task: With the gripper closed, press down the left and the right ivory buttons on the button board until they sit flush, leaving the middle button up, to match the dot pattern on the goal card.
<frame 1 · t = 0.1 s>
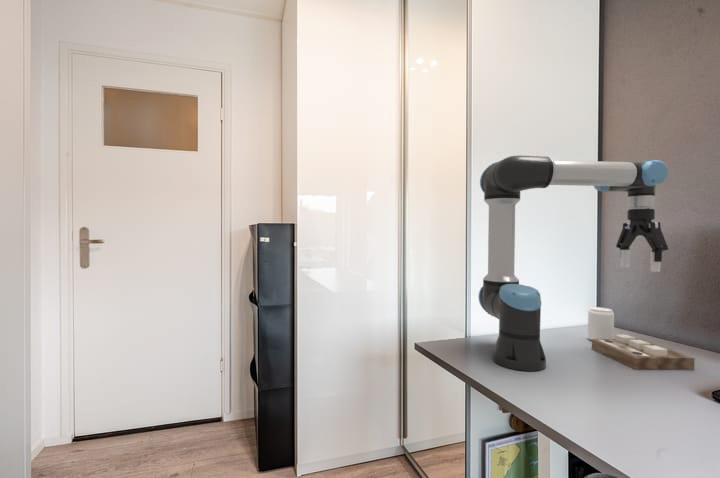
hand: (639, 269, 126), 28 cm above the table, fingers open, 13 cm apart
button right: (655, 353, 110), point 4 cm above the table, slide at 0.0 cm
white cylindrical container: (600, 341, 135), on the table
button left: (624, 341, 122), point 4 cm above the table, slide at 0.0 cm
button mid: (639, 346, 116), point 4 cm above the table, slide at 0.0 cm
board: (638, 358, 116), on the table
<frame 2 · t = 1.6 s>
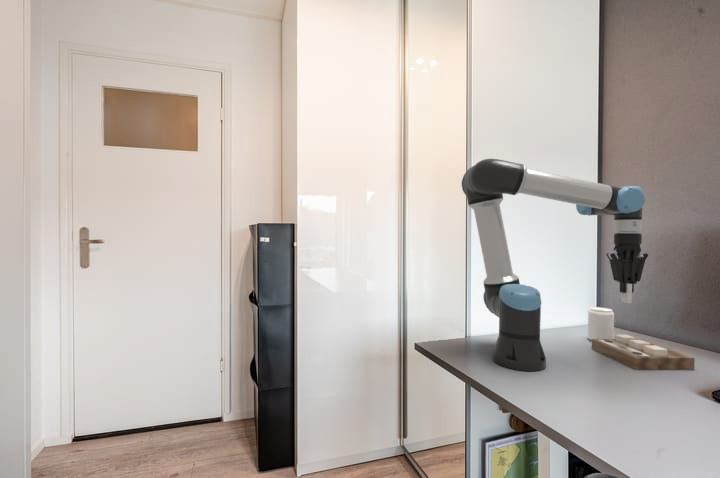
hand: (626, 302, 122), 17 cm above the table, fingers closed
nothing on the table moved.
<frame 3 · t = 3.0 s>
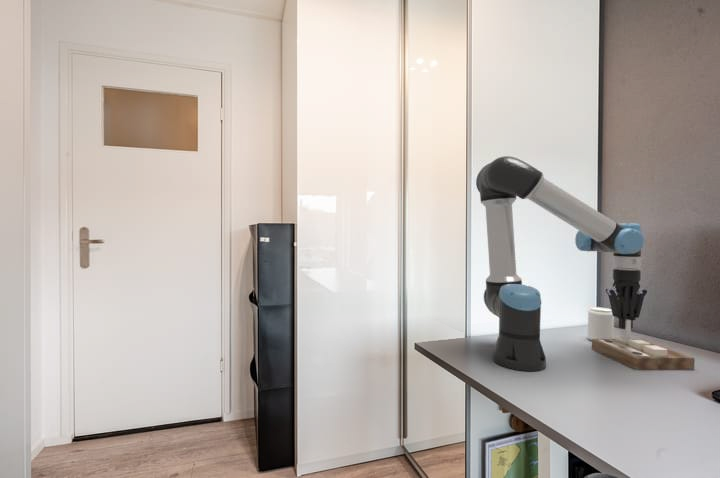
hand: (625, 338, 122), 5 cm above the table, fingers closed
button left: (624, 344, 122), point 3 cm above the table, slide at 1.0 cm, touching gripper
everything else where it was.
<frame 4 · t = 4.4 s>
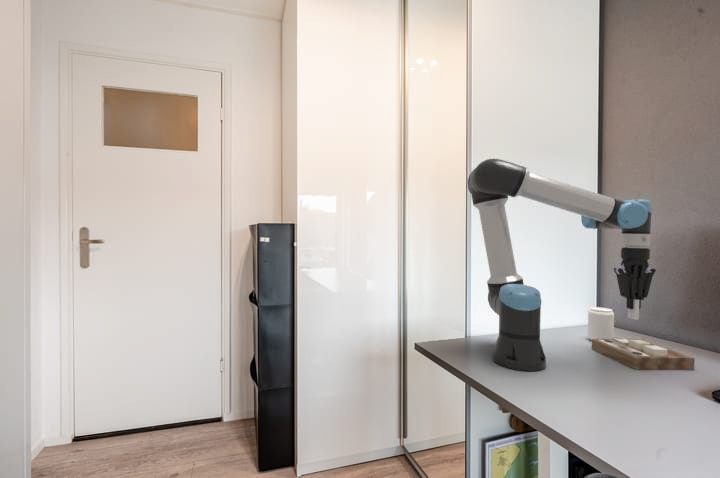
hand: (633, 318, 118), 12 cm above the table, fingers closed
button left: (624, 345, 122), point 2 cm above the table, slide at 1.7 cm
everything else where it was.
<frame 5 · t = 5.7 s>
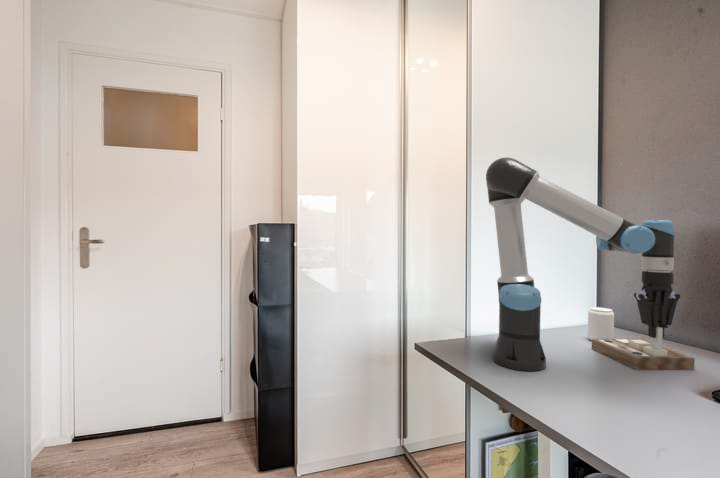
hand: (656, 347, 110), 5 cm above the table, fingers closed
button right: (655, 354, 110), point 3 cm above the table, slide at 0.4 cm, touching gripper
everything else where it was.
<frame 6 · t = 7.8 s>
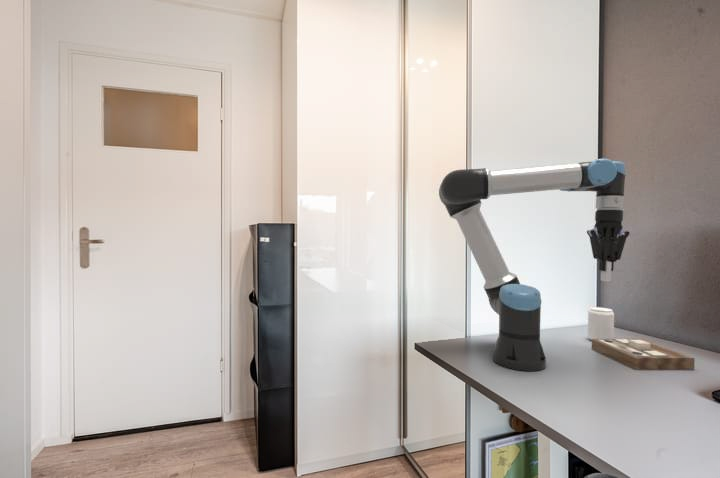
hand: (605, 280, 119), 25 cm above the table, fingers closed
button right: (654, 358, 110), point 2 cm above the table, slide at 1.7 cm
everything else where it was.
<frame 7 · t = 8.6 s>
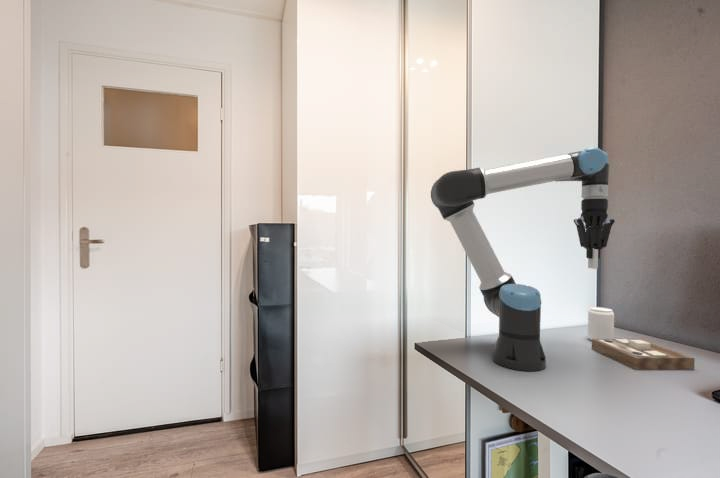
hand: (592, 268, 122), 28 cm above the table, fingers closed
nothing on the table moved.
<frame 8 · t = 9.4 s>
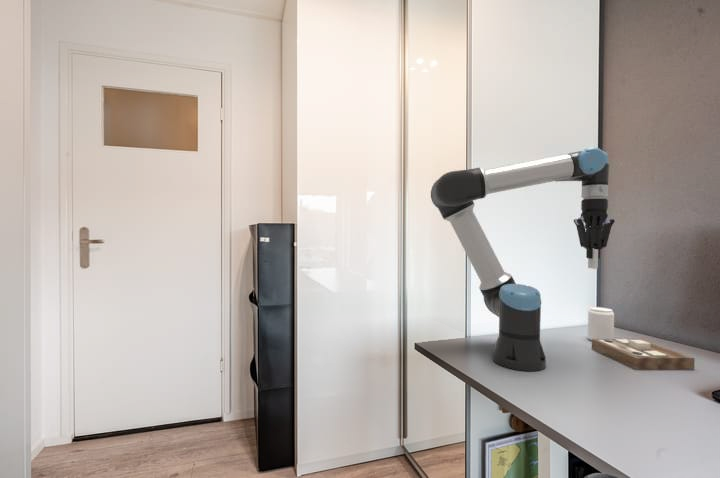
hand: (592, 268, 122), 28 cm above the table, fingers closed
nothing on the table moved.
at the end: button left slide at 1.7 cm; button right slide at 1.7 cm; button mid slide at 0.0 cm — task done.
